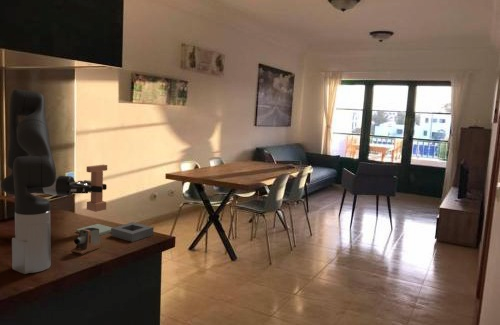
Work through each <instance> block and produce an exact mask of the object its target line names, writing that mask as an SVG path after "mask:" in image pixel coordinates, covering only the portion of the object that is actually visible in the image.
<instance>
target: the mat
mask: <svg viewBox="0 0 500 325" xmlns="http://www.w3.org/2000/svg"><path fill="white" fill-rule="evenodd" d="M86 228H97V229H99V237H100V236H103V235H107V234H111V228H113V227H112V226H107V225H104V224H100V223H96V224H92V225H89V226H84V227H80V228H77V229H76V232H77V233H78V234H79V233H80V230H82V229H86Z"/></svg>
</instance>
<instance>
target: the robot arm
mask: <svg viewBox="0 0 500 325" xmlns="http://www.w3.org/2000/svg"><path fill="white" fill-rule="evenodd" d="M8 105H9V109H8V110H9V111H8V131H9V132H8V133H9V136H8V137H9V146H8V152H7V153H8V154H7V168H9V169H10V170H11V173H10V174H9V175H8V176H6V177H5V178H3V180H2V181H1V182H0V188H1V189H2V191H3V192H4V193H5V194H9V195H13V196H14V237H12V238H11V257H12V259H11V260H12V262H11V264H12V265H11V266H12V270H14V271H15V272H18V273H20V274H23V275H27V274H29V273H30V274H34V273H39V272H43V271H45V270H48V269H49V268H51V265H52V264H51V263H52V260H51V259H52V258H51V255H52V254H51V253H52V252H51V251H52V250H51V249H52V248H51V246H52V245H51V202H50V200H49V199H46V198H44V197H40V196H36V195H34V194H39V195H40V194H43V195H50V196H60V197H61V196H62V197H63V196H65V197H70V196H72V195H73V194H89V193H90V194H91V192H102V186H91V180H77V181H76V180H75V178H74V176H71V175H70V176H68V175H57V171H56V164H55V160H54V157H53V154H52V150H51V149H52V148H51V145H50V144H51V143H50V142H51V141H50V134H49V128H48V124H47V119H46V118H47V117H46V99H45V97H44V95H43V94H42V93H40V92H38V91H31V90H24V89H18V88H15V89H13V90H12V92H11V94H10V97H9V104H8ZM20 116H21V117H23V118H22V119H21V120H20ZM107 188H108V187H107V184H106V183H103V191H106V190H107Z"/></svg>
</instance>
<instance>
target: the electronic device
mask: <svg viewBox="0 0 500 325" xmlns="http://www.w3.org/2000/svg"><path fill="white" fill-rule="evenodd" d="M73 242H74V244H75V245H76V246H75V247H74V248H72V249H71V250H70V252H71V254H73V255H77V256H80V257H81V256H83V255H85V254H89V253H92V252H94V251H96V250H98V249H100V248H101V240H100V236H99V229H97V228H86V229H82V230H80V233H79V232H78V237H77V238H74V240H73Z"/></svg>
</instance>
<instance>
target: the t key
mask: <svg viewBox="0 0 500 325" xmlns="http://www.w3.org/2000/svg"><path fill="white" fill-rule="evenodd" d="M104 171H105V172H106V171H108V164H98V165H97V164H96V165H87V166H86V173H90V181H91V186H102V192H91V193H90V200H89V201H86V210H88V211H91V212H95V213H97V212H101V211H106V210H107V201H104V200H103V197H104V196H103V195H104V194H103V191H104V190H103V184H104Z"/></svg>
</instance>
